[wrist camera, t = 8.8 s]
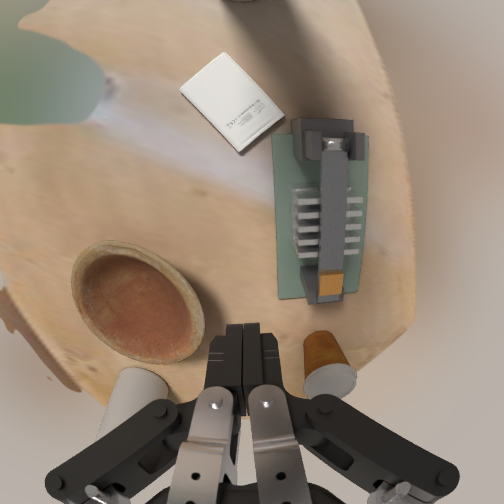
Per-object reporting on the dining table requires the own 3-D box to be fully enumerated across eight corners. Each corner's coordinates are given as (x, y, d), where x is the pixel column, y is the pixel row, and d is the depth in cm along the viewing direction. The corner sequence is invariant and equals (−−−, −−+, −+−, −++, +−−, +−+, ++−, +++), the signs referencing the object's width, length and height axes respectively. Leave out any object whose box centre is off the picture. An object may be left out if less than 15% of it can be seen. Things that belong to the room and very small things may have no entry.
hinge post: (290, 120, 34) (307, 116, 24) (335, 120, 34) (366, 119, 24) (292, 155, 36) (309, 165, 26) (336, 154, 36) (367, 165, 26)
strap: (315, 137, 28) (319, 137, 26) (346, 137, 28) (351, 138, 26) (313, 297, 37) (316, 305, 35) (338, 295, 37) (342, 302, 35)
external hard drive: (225, 54, 30) (283, 115, 34) (180, 91, 33) (238, 152, 37) (224, 50, 29) (285, 114, 33) (177, 89, 31) (238, 152, 35)
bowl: (96, 204, 39) (70, 220, 31) (231, 256, 43) (228, 283, 36) (84, 310, 48) (67, 335, 40) (189, 352, 52) (183, 382, 45)
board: (271, 134, 35) (271, 134, 34) (366, 135, 35) (368, 136, 34) (278, 296, 46) (278, 299, 46) (356, 289, 46) (357, 291, 45)
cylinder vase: (141, 359, 53) (108, 457, 31) (179, 390, 58) (162, 482, 35) (111, 373, 56) (79, 456, 34) (147, 400, 61) (126, 481, 38)
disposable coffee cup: (285, 349, 52) (292, 397, 41) (316, 317, 48) (331, 365, 38) (320, 363, 54) (332, 408, 43) (351, 334, 51) (369, 379, 40)
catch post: (299, 263, 44) (309, 292, 36) (329, 261, 44) (344, 289, 36) (298, 274, 44) (308, 304, 37) (328, 272, 44) (342, 300, 37)
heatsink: (288, 182, 38) (298, 196, 31) (341, 181, 38) (363, 195, 30) (289, 235, 41) (298, 260, 34) (339, 232, 41) (358, 255, 34)
